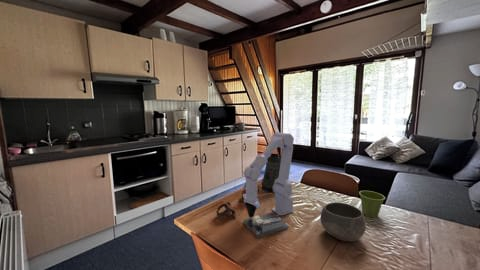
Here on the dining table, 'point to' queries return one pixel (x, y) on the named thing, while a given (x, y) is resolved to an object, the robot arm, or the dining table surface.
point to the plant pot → (371, 203)
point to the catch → (257, 220)
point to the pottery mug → (228, 210)
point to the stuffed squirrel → (245, 192)
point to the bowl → (343, 221)
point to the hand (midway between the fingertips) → (251, 216)
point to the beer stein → (271, 172)
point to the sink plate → (266, 228)
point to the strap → (269, 221)
